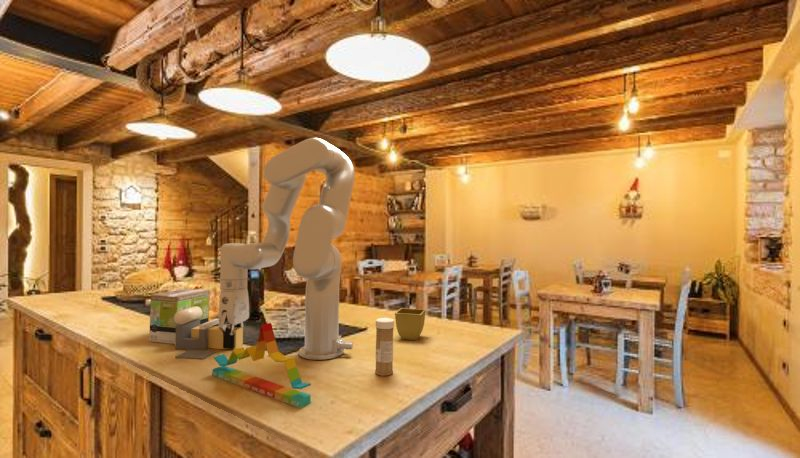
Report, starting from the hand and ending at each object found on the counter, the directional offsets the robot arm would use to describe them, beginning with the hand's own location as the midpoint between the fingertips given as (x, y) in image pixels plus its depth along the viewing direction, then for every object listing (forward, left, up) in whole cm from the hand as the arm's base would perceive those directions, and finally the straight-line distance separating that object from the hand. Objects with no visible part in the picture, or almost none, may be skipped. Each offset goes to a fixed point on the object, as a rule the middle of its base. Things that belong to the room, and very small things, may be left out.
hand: (232, 345), depth 119 cm
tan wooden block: (+5, 0, -1) cm, 5 cm away
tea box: (+22, -8, -1) cm, 24 cm away
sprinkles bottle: (-48, +15, -1) cm, 50 cm away
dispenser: (+11, 0, -1) cm, 11 cm away
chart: (-21, +28, -1) cm, 35 cm away
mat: (+6, +9, 0) cm, 11 cm away
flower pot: (-52, -18, -1) cm, 55 cm away
